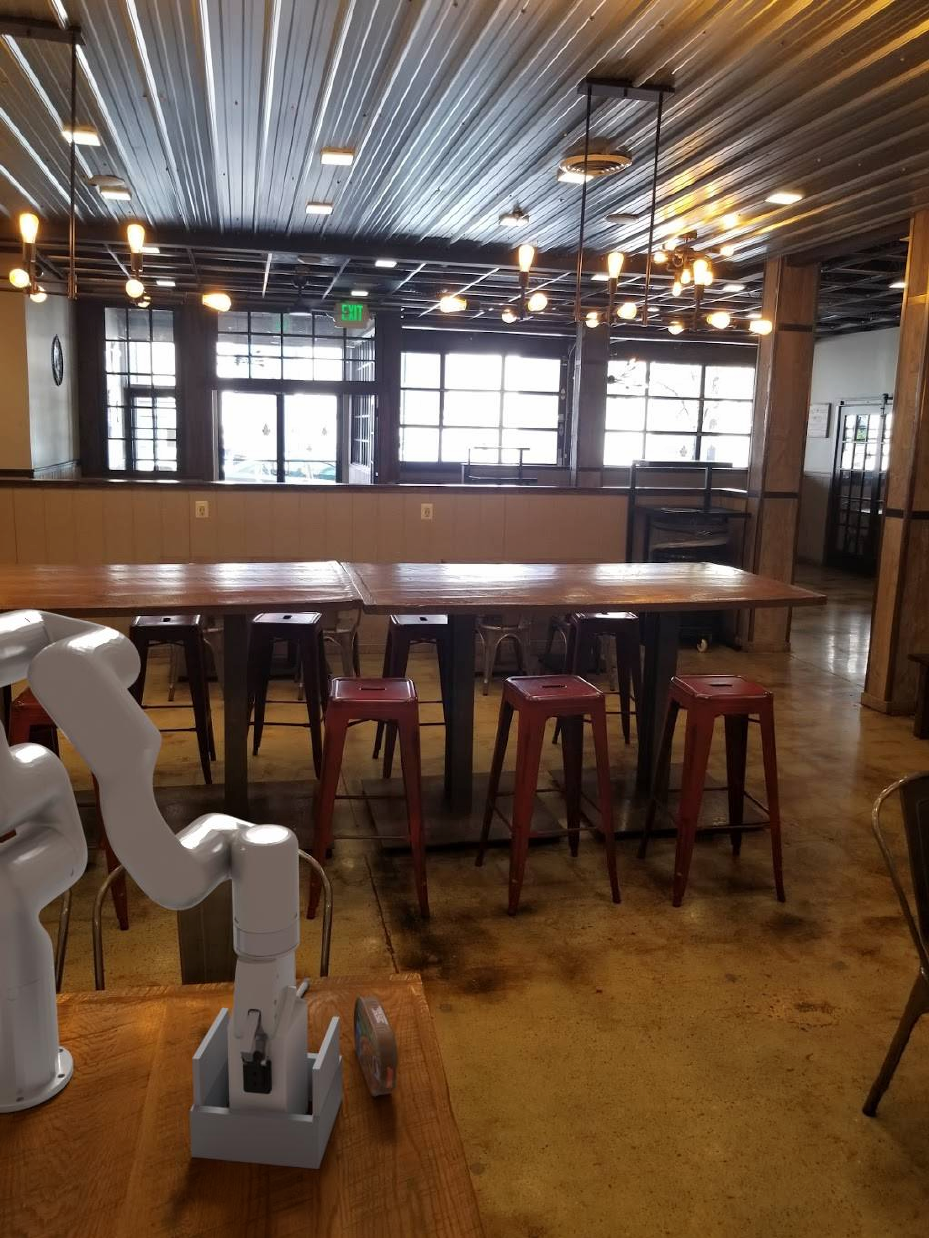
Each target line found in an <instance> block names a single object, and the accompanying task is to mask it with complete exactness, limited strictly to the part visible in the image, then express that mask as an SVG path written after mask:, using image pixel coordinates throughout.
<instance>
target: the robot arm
mask: <svg viewBox="0 0 929 1238" xmlns="http://www.w3.org/2000/svg"><path fill="white" fill-rule="evenodd" d="M140 672H141V658H140V655H139V651H138V650H137V648H136V646H135V644H134V643H133V642H132V641H131V639H129V638H128V636H126V635H125V634H124V633H122V632H120V631H118V630H116V629H114V628H112V627H110V626H106V625H102V624H99V623H94V622H91V621H86V620H83V619H79V618H73V617H69V616H65V615H61V614H57V613H53V612H49V611H43V610H39V609H31V608H29V609H28V608H27V609H16V610H12V611H8V612H6V611H5V612H3V613H0V688H3V687H5V686H8V685H11V684H14V683H17V682H19V681H22V680H26V679H27V685H28V686H29V688H30V691H31V692H32V694H33V696H34V697H35V699H36V700H37V701H38V703H39V704H40V705H41V707H42V708H43V709H44V711H45V712H46V714H48V716H49V717H50V718H51V720H52V721H53V722H54V724H55V725H56V727H57V728H58V729H59V731H60V732H61V733H62V735H63V736H64V737H65V738H66V739H67V741H68V742H69V743H70V745H71V746H72V747H73V749H74V750H75V751H76V753H77V754H78V755H79V756H80V757H81V760H82V761H83V762H84V763H85V764H86V766H88V768H89V769H90V771H91V773H92V774H94V776H95V778H96V780H97V783H98V787H99V791H98V792H99V805H100V811H101V816H102V817H101V818H102V820H103V825H104V829H105V830H104V831H105V833H106V836H107V839H108V841H109V845H110V846H111V847H110V848H111V849H112V851H113V852H114V854H115V856H116V858H117V859H118V861H119V862H120V864H121V865H122V866H123V867H124V869H125V870H126V871H127V873H128V874H129V875H130V877H131V878H132V879H133V880H134V882H135V883H136V884H137V886H138V887H139V888H140V889H141V890H142V891H143V892H144V893H145V894H146V896H148V897H149V898H150V899H151V900H152V901H153V902H155V903H156V904H158V905H159V906H161V907H163V908H166V909H168V910H173V911H184V910H187V909H191V908H193V907H195V906H197V905H198V904H199V903H200V902H202V901H203V900H204V899H205V898H206V897H207V896H209V894H211V893H213V890H215V889H216V888H217V887H218V886H219V885H220V883H223V882H225V881H228V880H231V884H232V885H231V888H232V889H231V894H232V925H233V927H232V929H233V949H234V952H235V954H237V955H238V956H237V959H236V960H237V961H236V965H235V976H234V977H235V978H234V988H233V989H234V991H233V993H234V994H233V1007H234V1020H233V1033H234V1036H235V1038H236V1039H239V1038H241V1039H242V1038H243V1039H242V1043H241V1047H240V1053H241V1055H242V1056H241V1058H242V1064H243V1090H244V1091H245V1092H248V1093H259V1094H270V1092H271V1090H272V1066H271V1060H268V1058H269V1051H270V1041H271V1040H272V1039H274V1038H275V1037H276V1033H277V1029H278V1026H279V1023H280V1019H281V1016H282V1012H283V1009H284V1005H285V1002H286V998H287V987H288V986H293V987H296V982H297V981H296V980H297V979H296V977H297V976H296V954H295V951H296V950H297V948H298V947H299V945H300V942H301V941H300V940H301V939H300V937H301V936H300V875H299V874H300V873H299V872H300V868H299V866H300V863H299V860H300V859H299V856H300V855H299V840H298V838H297V836H296V834H295V833H294V831H292V829H290V828H288V827H286V826H283V825H279V824H269V823H267V824H256V823H252V822H250V821H246V820H243V819H240V818H238V817H236V816H235V817H234V816H232V815H229V814H224V813H219V812H217V813H216V812H212V813H211V812H210V813H206V814H204V815H201V816H199V817H198V818H196V819H195V820H193V821H192V822H191V823H189V825H187V826H186V827H184V828H183V829H181V830H180V831H179V832H178V833H176V834H175V833H174V832H173V831H172V829H171V828H170V826H169V825H168V824H167V822H166V821H165V819H164V817H163V816H162V813H161V812H160V810H159V808H158V805H157V801H156V799H155V794H154V786H153V780H154V772H155V766H156V764H157V760H158V757H159V753H160V750H161V746H162V738H163V737H162V734H161V732H160V730H159V729H158V727H157V726H156V725H155V724H154V723H153V722H152V720H151V719H150V717H149V716H148V714H147V713H146V712H145V711H144V710H143V708H141V706H140V705H139V704H138V702H137V701H136V699H135V698H134V696H132V694H131V693H130V691H129V690H128V689H129V688H130V687H131V686H132V685H133V684H134V683H136V681H137V679H138V677H139V674H140ZM76 801H77V800H76V798H75V794H74V790H73V786H72V783H71V780H70V776H69V773H68V771H67V769H66V766H64V764H63V762H62V761H61V759H60V758H59V757H58V755H56V753H54V752H53V751H52V750H50V748H47V747H46V746H43V745H41V744H40V743H39V744H38V743H33V742H24V743H19V744H14V745H12V746H9V742H8V740H7V737H6V731H5V726H4V724H3V723H2V720H1V719H0V837H3V836H4V835H6V834H9V833H10V832H12V831H14V830H15V833H16V835H14V836H13V837H11V838H9V839H7V840H5V841H3V842H2V843H0V1114H1V1113H2V1114H3V1113H11V1112H18V1111H22V1110H26V1109H30V1108H31V1107H34V1106H37V1105H39V1104H41V1103H44V1102H46V1101H48V1100H49V1099H50V1098H52V1097H53V1096H55V1095H56V1094H58V1093H59V1092H60V1091H61V1090H62V1089H64V1088H65V1086H66V1085H67V1084H68V1082H70V1080H71V1077H72V1076H73V1073H74V1059H73V1055H72V1054H71V1052H70V1051H69V1050H68V1049H66V1048H65V1047H63V1046H61V1045H60V1037H59V1025H58V1024H59V1023H58V1006H57V1005H58V1004H57V991H56V989H57V988H56V977H55V961H54V950H53V943H52V940H51V937H50V935H49V933H48V931H47V930H46V929H45V928H44V927H43V925H42V924H41V922H40V917H39V915H40V912H41V911H42V910H43V909H44V907H46V906H48V904H50V903H51V902H52V901H53V900H54V899H56V898H57V897H59V896H60V895H61V894H63V893H65V891H67V890H68V889H69V888H71V887H72V886H74V884H75V883H76V882H78V880H80V878H81V877H82V876H83V874H84V872H85V870H86V867H87V864H88V846H87V841H86V837H85V832H84V829H83V824H82V820H81V816H80V814H79V810H78V806H77V802H76ZM259 1028H263V1030H264V1032H265V1033H266V1035H257V1034H258V1030H259ZM256 1040H260V1041H264V1044H263V1051H262V1053H261V1052H260V1051H256V1047H255V1043H256Z"/></svg>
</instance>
